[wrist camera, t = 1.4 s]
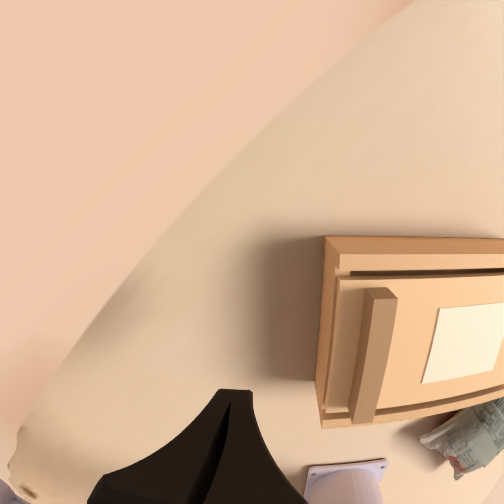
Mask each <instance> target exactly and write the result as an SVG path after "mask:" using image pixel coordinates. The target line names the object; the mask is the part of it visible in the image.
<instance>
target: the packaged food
mask: <svg viewBox="0 0 504 504" xmlns="http://www.w3.org/2000/svg"><path fill="white" fill-rule="evenodd" d="M418 439H419V442H420V443H421V444H422V445H423V446H425V447H426V448H428V449H429V450H432V449H435V450H437V451H438V452H439V453H440V454H441V455H442V456H443V457H445V458H446V459H449V460H450V464H451V465H452V467H453V468H454V478H455V480H458V479H459V478H461V477H462V476H463V475H464V474H466V473H469V472H471V471H474V470H476V469H478V468H481V467H482V466H484V467H486V466H487V465H488V464H489V463H490V462H491V461H492V460H493V459H494V458H495V457H496V456H497V455H498V454H499V453H500V452H501V451H502V450H503V449H504V397H501V398H497V399H494V400H491V401H488V402H484V403H481V404H477V405H473V406H470V407H466V408H462V409H461V410H460V411H459V412H458V413H456V414H455V415H454V416H453V417H451V418H450V419H449V420H448V421H446V422H445V423H444V424H443V425H441V426H439V427H438V428H436V429H434V430H433V431H432V432H427V433H426V434H423V435H421V436H419V438H418Z"/></svg>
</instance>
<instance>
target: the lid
mask: <svg viewBox="0 0 504 504" xmlns="http://www.w3.org/2000/svg"><path fill="white" fill-rule="evenodd" d="M501 384H504V272H500V273H476V274H448V275H411V276H351V277H338V284H337V298H336V311H335V322H334V333H333V343H332V352H331V361H330V369H329V377H328V385H327V392H326V399H325V406H324V408H325V413H336V412H349V415H350V419H351V422H352V424H362V423H372V422H373V418H374V415H375V411H376V409H381V408H390V407H397V406H404V405H411V404H417V403H423V402H429V401H434V400H439V399H444V398H449V397H454V396H458V395H463V394H467V393H471V392H475V391H479V390H483V389H487V388H490V387H494V386H497V385H501Z"/></svg>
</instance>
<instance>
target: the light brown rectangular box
mask: <svg viewBox="0 0 504 504" xmlns="http://www.w3.org/2000/svg"><path fill="white" fill-rule="evenodd" d="M500 272H504V239H489V238H453V237H406V236H324V257H323V280H322V299H321V315H320V329H319V341H318V353H317V364H316V374H315V387H316V394H317V401H318V407H319V414H320V421H321V428H322V429H326V428H342V427H354V426H365V425H374V424H382V423H389V422H396V421H403V420H409V419H415V418H420V417H426V416H431V415H436V414H440V413H445V412H449V411H454V410H458V409H462V408H466V407H470V406H473V405H477V404H481V403H484V402H488V401H491V400H494V399H497V398H501V397H504V384H501V385H497V386H494V387H490V388H487V389H483V390H479V391H475V392H471V393H467V394H463V395H458V396H454V397H449V398H444V399H439V400H434V401H429V402H423V403H417V404H411V405H404V406H397V407H390V408H381V409H376V411H375V415H374V418H373V422H372V423H362V424H352V422H351V419H350V415H349V412H336V413H325V408H324V406H325V399H326V392H327V385H328V377H329V369H330V361H331V352H332V343H333V333H334V322H335V311H336V298H337V284H338V277H351V276H411V275H448V274H476V273H500Z"/></svg>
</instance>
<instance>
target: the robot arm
mask: <svg viewBox="0 0 504 504" xmlns="http://www.w3.org/2000/svg"><path fill="white" fill-rule="evenodd" d="M388 464H389V462H388V460H387V459H382V460H375V461H368V462H360V463H350V464H340V465H327V466H312V467H310V468H309V470H308V475H307V480H306V485H305V490H304V495H303V497H302V496H301V495H300V494H299V493H298V492H297V490H296V489H295V488H294V487H293V486H292V485H291V483H290V482H289V481H288V480H287V479H286V477H285V476H284V474H283V473H282V472H281V470H280V469H279V467H278V466H277V464H276V463H275V461H274V459H273V458H272V456H271V454H270V452H269V450H268V448H267V446H266V444H265V442H264V440H263V438H262V435H261V433H260V430H259V427H258V424H257V421H256V418H255V414H254V409H253V392H251V391H250V390H234V389H219V390H218V391H217V392H216V394H215V395H214V396H213V398H212V399H211V400H210V402H209V403H208V404H207V405H206V407H205V408H204V409H203V410H202V411H201V413H200V414H199V415H198V416H197V417H196V418H195V419H194V420H193V421H192V422H191V423H190V424H189V425H188V426H187V427H186V428H185V429H184V430H183V431H182V432H181V433H180V434H179V435H178V436H176V437H175V438H174V439H173V440H171V441H170V442H169V443H168V444H166V445H165V446H163V447H162V448H160V449H159V450H157V451H156V452H154V453H153V454H151V455H150V456H148V457H146V458H144V459H142V460H140V461H138V462H136V463H134V464H132V465H130V466H128V467H125V468H123V469H120V470H117V471H114V472H111V473H108V474H105V475H103V476H102V478H101V479H100V480H99V481H98V483H97V484H96V486H95V488H94V489H93V491H92V493H91V495H90V497H89V498H88V500H87V504H384V501H383V497H382V493H381V489H380V485H379V483H380V481H381V479H382V477H383V475H384V472H385V470H386V468H387V466H388ZM0 504H30V503H29V502H27V501H25V500H23V499H22V498H20V497H19V496H17V495H15V493H14V491H13V490H12V489H11V488H10V487H9V486H8V485H7V484H6V483H5V482H4V481H2V480H1V479H0Z"/></svg>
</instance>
